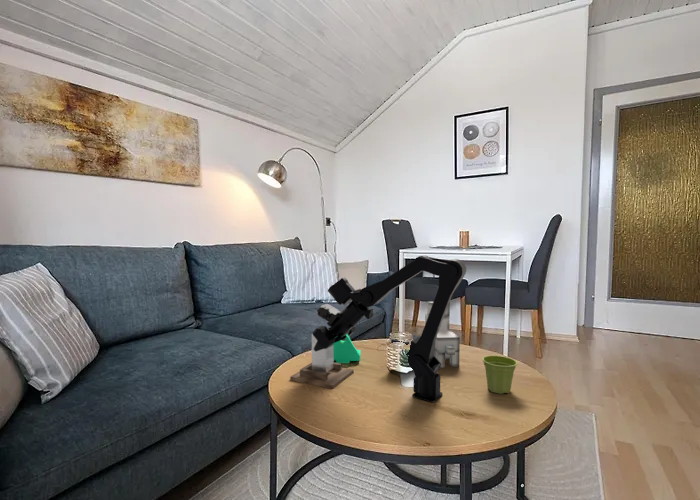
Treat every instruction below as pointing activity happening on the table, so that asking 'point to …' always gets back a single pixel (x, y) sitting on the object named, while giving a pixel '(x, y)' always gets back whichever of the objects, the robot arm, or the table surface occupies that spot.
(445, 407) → the table surface
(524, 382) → the table surface
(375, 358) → the table surface
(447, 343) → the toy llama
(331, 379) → the cradle
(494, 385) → the plant pot
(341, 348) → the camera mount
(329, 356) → the block
